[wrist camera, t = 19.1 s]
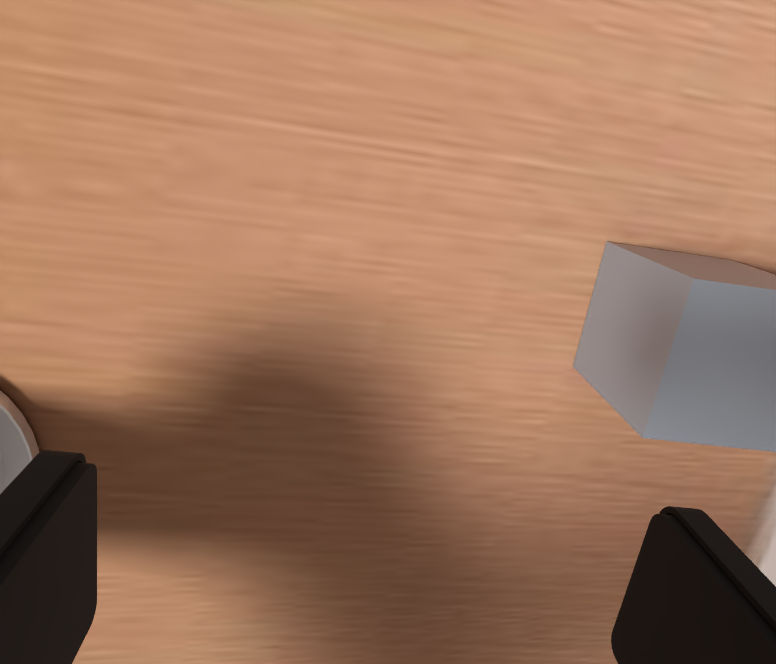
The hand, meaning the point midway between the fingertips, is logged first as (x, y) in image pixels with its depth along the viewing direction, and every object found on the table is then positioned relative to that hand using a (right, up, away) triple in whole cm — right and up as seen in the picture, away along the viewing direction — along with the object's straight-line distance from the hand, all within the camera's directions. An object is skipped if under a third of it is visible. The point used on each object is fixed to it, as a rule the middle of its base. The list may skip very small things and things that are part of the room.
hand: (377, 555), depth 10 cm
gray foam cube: (+16, +5, +25) cm, 30 cm away
